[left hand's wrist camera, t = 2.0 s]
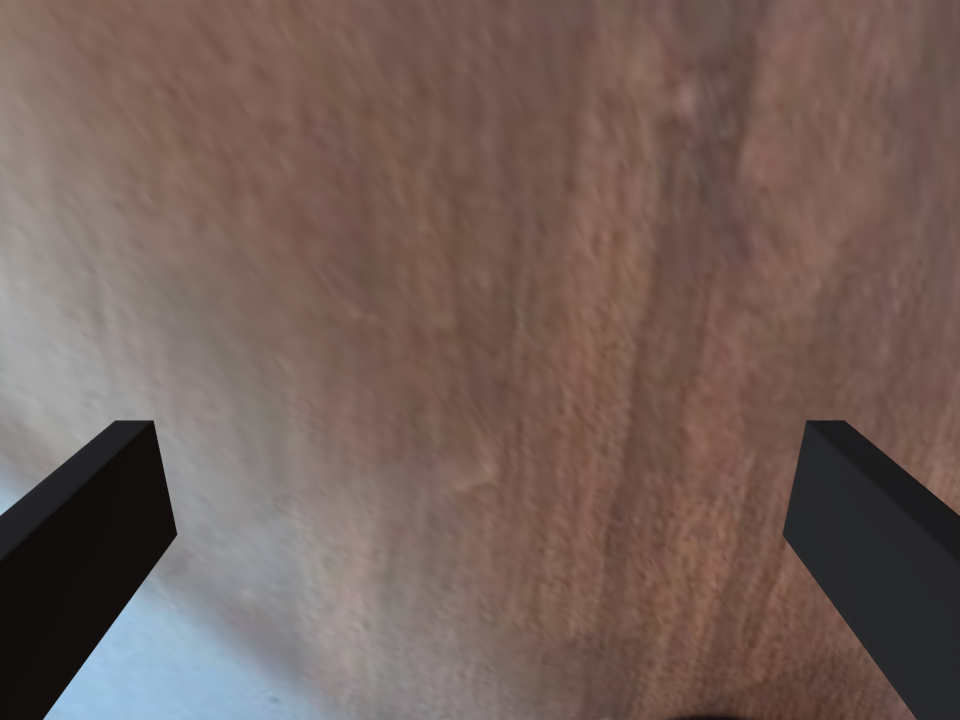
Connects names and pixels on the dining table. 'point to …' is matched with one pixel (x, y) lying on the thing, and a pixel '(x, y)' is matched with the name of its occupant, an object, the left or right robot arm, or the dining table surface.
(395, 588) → the dining table surface
